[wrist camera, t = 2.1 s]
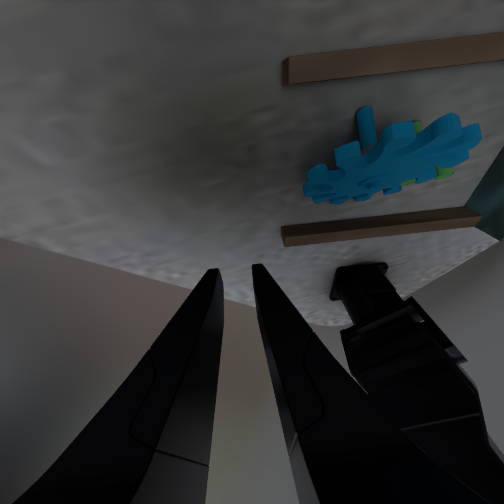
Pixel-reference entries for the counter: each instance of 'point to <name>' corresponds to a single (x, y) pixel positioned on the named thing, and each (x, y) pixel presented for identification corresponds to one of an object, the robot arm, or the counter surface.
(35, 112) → the counter surface
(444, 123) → the blue irregular piece
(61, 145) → the counter surface
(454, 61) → the guide channel
